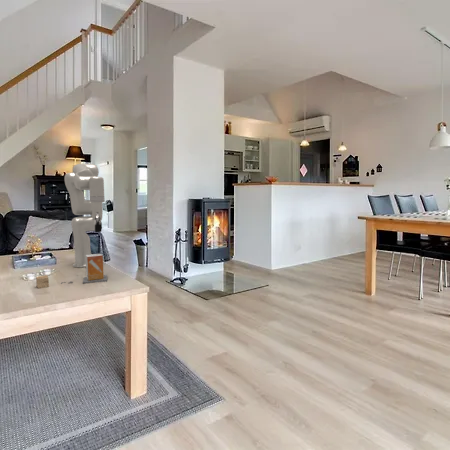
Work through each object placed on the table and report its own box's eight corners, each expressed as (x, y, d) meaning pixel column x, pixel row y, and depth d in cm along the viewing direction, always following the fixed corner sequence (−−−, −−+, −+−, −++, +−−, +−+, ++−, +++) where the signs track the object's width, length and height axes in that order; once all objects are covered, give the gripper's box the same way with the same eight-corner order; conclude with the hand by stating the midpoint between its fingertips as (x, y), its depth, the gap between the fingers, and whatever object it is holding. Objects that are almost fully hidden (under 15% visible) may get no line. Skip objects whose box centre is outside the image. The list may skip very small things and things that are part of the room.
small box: (88, 280, 182) (86, 256, 181) (86, 278, 188) (85, 254, 187) (104, 278, 187) (102, 255, 185) (101, 276, 192) (100, 253, 191)
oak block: (36, 286, 176) (36, 276, 176) (47, 284, 179) (46, 275, 178) (37, 288, 172) (37, 278, 171) (49, 286, 175) (48, 277, 174)
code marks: (61, 282, 182) (61, 282, 182) (73, 281, 184) (73, 281, 184) (60, 283, 180) (60, 283, 180) (73, 282, 182) (73, 282, 182)
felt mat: (84, 278, 191) (83, 276, 191) (106, 275, 195) (106, 274, 195) (82, 283, 180) (82, 282, 180) (107, 281, 184) (107, 280, 184)
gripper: (90, 198, 195) (92, 228, 197) (88, 200, 178) (90, 233, 181) (104, 198, 197) (106, 228, 199) (104, 200, 181) (105, 232, 183)
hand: (98, 230), depth 190 cm, fingers open, 9 cm apart
